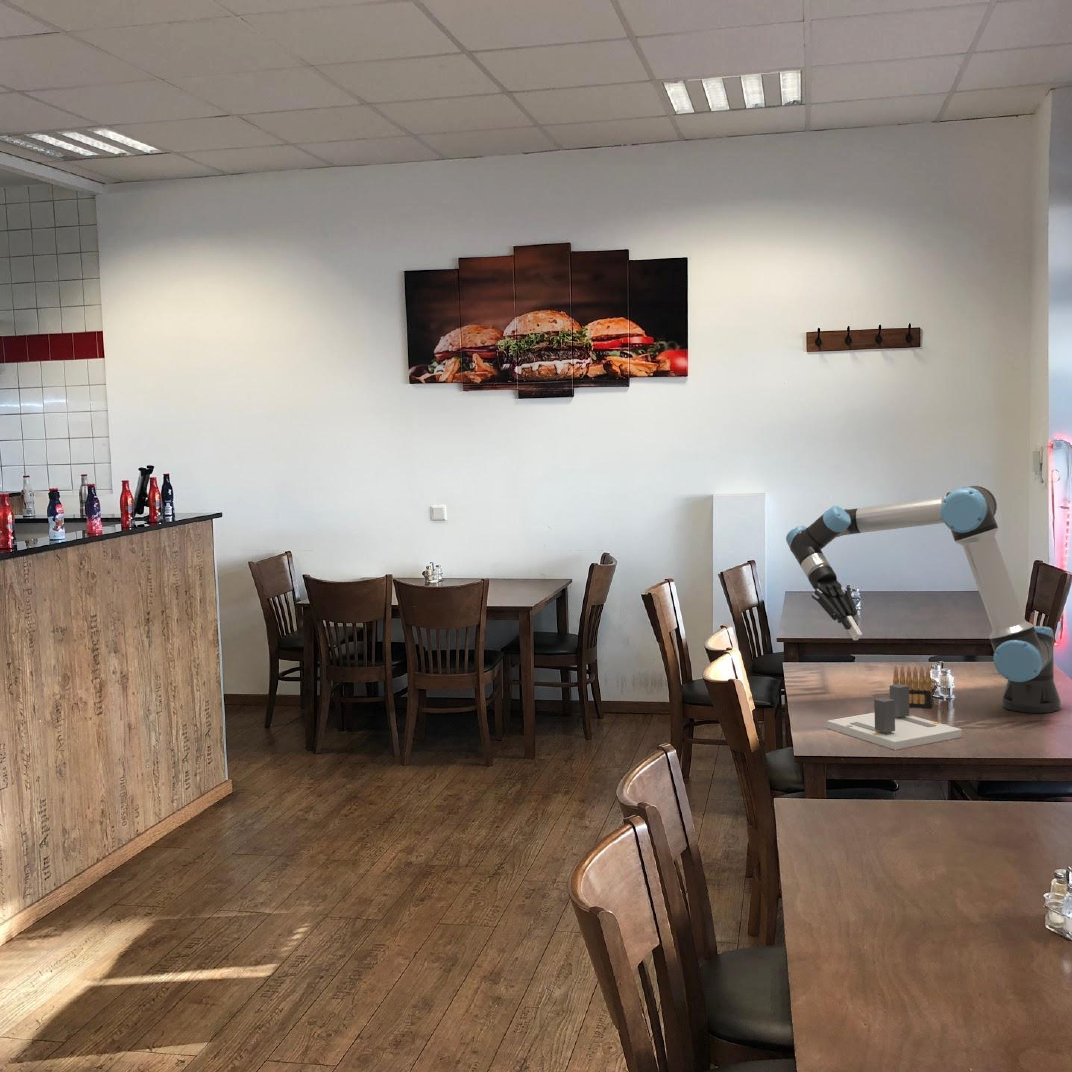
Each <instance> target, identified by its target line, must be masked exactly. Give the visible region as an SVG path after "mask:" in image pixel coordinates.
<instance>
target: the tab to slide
mask: <svg viewBox="0 0 1072 1072" xmlns="http://www.w3.org/2000/svg"><path fill="white" fill-rule="evenodd" d="M889 699H892V700H895V716H896V717H905V716H909V715H910V707H909V686H906V685H902V684H900V683H899V684H897V685H893V684H891V685H889Z"/></svg>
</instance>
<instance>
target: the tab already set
mask: <svg viewBox="0 0 1072 1072" xmlns="http://www.w3.org/2000/svg"><path fill="white" fill-rule="evenodd" d="M873 703H874V706H873V707H874V712H875V730H876V731H880V732H883V733H887V732H892V731H895V700H892V699H890V697H889V698H887V697H881V698H875V699H874V701H873Z"/></svg>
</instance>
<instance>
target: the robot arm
mask: <svg viewBox="0 0 1072 1072" xmlns="http://www.w3.org/2000/svg"><path fill="white" fill-rule="evenodd" d="M997 508H998V505H997V499H996V498H995V496H994V494H993V493H992V491H990V490H989V489H987V488H985V487H983V486H979V485H971V486H965V487H960V488H957V489H955V490H952V491H950V492H946V493H945V494H944V495H943V496H938V497H929V498H924V499H923V498H922V499H917V500H909V501H908V500H907V501H902V502H901V501H900V502H895V503H894V502H893V503H887V504H880V505H872V506H865V507H864V506H863V507H858V508H851V509H849V508H848V509H847V508H846V509H845V508H844V509H843V508H842V507H840V506H839V505H833V506H831V507H830V508H829V509H827V510H825V511H824V512H823V514H821V516H819V517H818V518H817V519H816V520H815V521H813V522H812V523H811V524H810V525H809V526H805V525H799V526H796V527H794V528H792V529H790V531H788V533H787V534H786V537H785V540H786V543H787V545H788V547H789V550H790V552H791V553H792V555H793V556H794V557H795V559H796V561H797V563H798V565H799V566H800V568H801V569H802V571H803V573H804V574H805V577H806V578H807V579H808V582H809V583H810V585H811V586H812V588H813V589H814V592H813V593H812V595H811V598H812V599H813V600H815V601H816V602H818V604H819V605H820V606H821V608H823V610H824V611H825V613H826V614H828V615H829V617H830V618H831V619H832V620H833V621H837V623H838V624H842V626H843V627H844V629H845V630H847V632H848V634H849V635H850V637H851V638H852V641H858V640H859V639H860V638H861V637H862V636H863V632H862V631H861V629H860V627H859V624H858V622H857V620H856V619H855V616H856V615H857V614H858V610H857V608H856V605H855V601H854V600H853V596H852V593H851V592H852V591H851V590H852V589H851V587H850V586H846V587H844V586H842V584H841V583H840V582H839V581H838V578H837V574H836V573H835V571H834V569H833V567H832V566H831V564H830V563H829V561H828V560H827V558H826V556H825V555H824V553H823V551H822V549H824V548H825V547H826V546H827V545H829V544H830V543H831V542H832V541H834V540H835V539H836V538H840V537H843V536H847V535H848V536H850V535H857V534H862V533H863V534H865V533H874V532H880V531H888V530H889V531H890V530H897V529H906V528H915V527H923V526H930V525H931V526H932V525H939V524H940V525H941V524H944V525H945V526H946V527H947V528H948V529H950V531H951V532H950V533H951V535H952V537H953V541H954V542H955V543H956V544H958V545H960V546H961V547H962V548H963V550H964V553H965V556H966V559H967V562H968V565H969V567H970V570H971V573H972V575H973V578H974V580H975V584H976V587H977V590H978V592H979V596H980V598H981V601H982V603H983V606H984V609H985V611H986V614H987V617H988V620H989V623H990V625H991V629H992V630H991V633H990V635H989V636H988V637H989V640H990V643H991V647H992V649H993V652H994V653H993V664H994V668H995V669H996V671H997V673H998V674H999V675H1000V676H1001V677H1003V678H1004V679H1006V680H1007V681H1006V684H1005V688H1004V691H1003V693H1002V697H1001V707H1003V708H1004V709H1007V710H1008V711H1009V710H1010V711H1015V712H1019V713H1029V714H1030V713H1031V714H1032V713H1033V714H1045V713H1046V714H1047V713H1052V712H1053V713H1054V712H1057V711H1060V710H1061V707H1062V704H1061V703H1062V701H1061V698H1060V695H1059V692H1058V690H1057V687H1056V683H1055V680H1054V640H1055V636H1054V630H1053V628H1051V627H1050V626H1039V625H1034V624H1032V623H1031V622H1028V621H1027V620H1026V618H1025V615H1024V614H1023V611H1022V608H1021V605H1020V602H1019V599H1018V596H1017V594H1016V590H1015V589H1014V588H1015V587H1014V586H1013V583H1012V580H1011V577H1010V574H1009V572H1008V570H1007V566H1006V564H1005V561H1004V557H1003V555H1002V552H1001V550H1000V546H999V544H998V541H997V538H996V534H997V532H998V530H999V527H998V523H997V521H996V518H995V516H996V513H997V510H998V509H997Z"/></svg>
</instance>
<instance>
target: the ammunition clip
mask: <svg viewBox="0 0 1072 1072" xmlns="http://www.w3.org/2000/svg"><path fill="white" fill-rule="evenodd" d="M898 670H899V669H898V666H897V664H895V665H894V668H893V680H892V685H897V684H902V685H906V686H909V709H911V708H913V709H914V708H915V709H930V710H931V709H933V697H932V678H931V670H930V666H929V665H927V667H926V670H925V671H924V668H923V665H921V666H920V668H919V677H918V669H917V665H914V667H913V671H911V667H910V665H908V666H907V668H906V675H905V668H904V665H901V666H900V671H898ZM899 672H900V673H899Z"/></svg>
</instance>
